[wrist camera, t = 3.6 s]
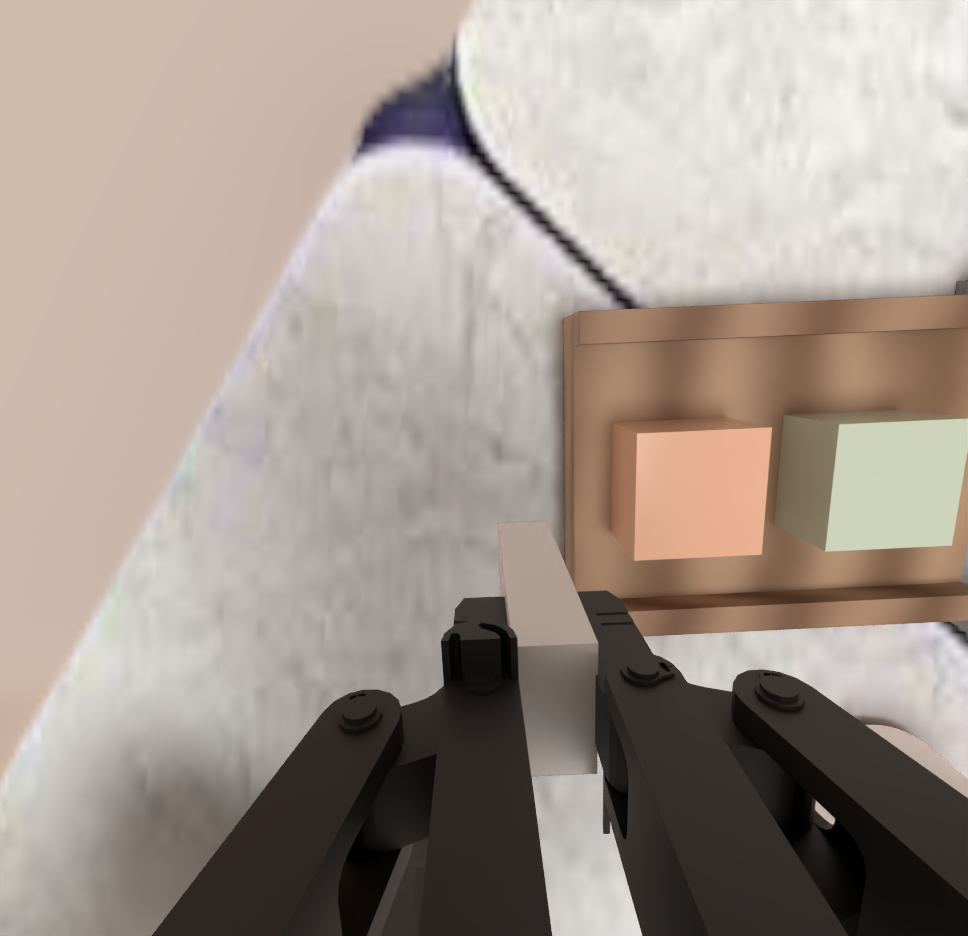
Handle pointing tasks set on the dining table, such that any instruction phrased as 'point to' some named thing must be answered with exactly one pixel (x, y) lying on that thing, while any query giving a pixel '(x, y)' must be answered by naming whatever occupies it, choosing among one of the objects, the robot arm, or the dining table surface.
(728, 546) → the tile
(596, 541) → the wooden tray
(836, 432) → the tile
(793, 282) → the dining table surface
